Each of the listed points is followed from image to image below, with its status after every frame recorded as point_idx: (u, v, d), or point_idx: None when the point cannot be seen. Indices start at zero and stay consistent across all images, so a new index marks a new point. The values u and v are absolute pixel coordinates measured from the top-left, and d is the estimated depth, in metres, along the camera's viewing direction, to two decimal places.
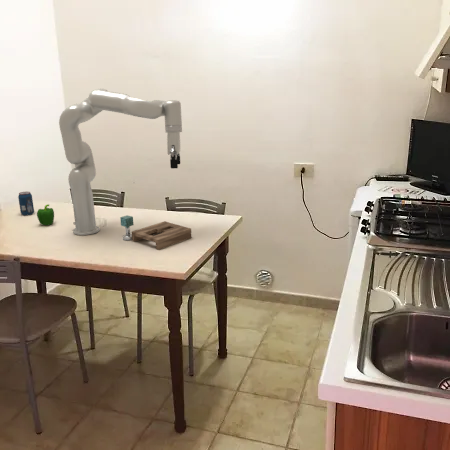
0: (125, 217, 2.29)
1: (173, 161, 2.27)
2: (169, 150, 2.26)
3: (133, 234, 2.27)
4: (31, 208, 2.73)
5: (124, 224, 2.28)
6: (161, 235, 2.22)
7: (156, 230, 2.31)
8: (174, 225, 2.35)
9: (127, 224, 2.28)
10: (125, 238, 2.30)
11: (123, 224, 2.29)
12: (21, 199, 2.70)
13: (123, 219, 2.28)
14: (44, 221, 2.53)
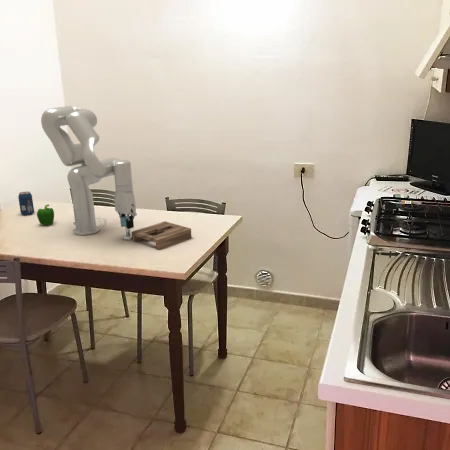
0: (125, 217, 2.29)
1: (131, 221, 2.28)
2: (129, 210, 2.24)
3: (133, 234, 2.27)
4: (31, 208, 2.73)
5: (124, 224, 2.28)
6: (161, 235, 2.22)
7: (156, 230, 2.31)
8: (174, 225, 2.35)
9: None
10: (125, 238, 2.30)
11: (123, 224, 2.29)
12: (21, 199, 2.70)
13: (123, 219, 2.28)
14: (44, 221, 2.53)
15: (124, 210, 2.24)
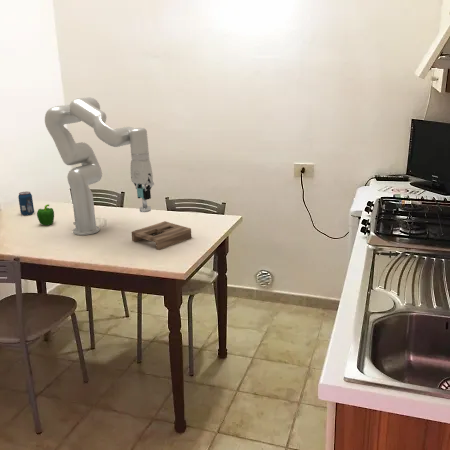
0: (142, 188, 2.21)
1: (148, 192, 2.20)
2: (146, 179, 2.16)
3: (133, 234, 2.27)
4: (31, 208, 2.73)
5: (141, 195, 2.21)
6: (161, 235, 2.22)
7: (156, 230, 2.31)
8: (174, 225, 2.35)
9: None
10: (142, 210, 2.22)
11: (140, 195, 2.21)
12: (21, 199, 2.70)
13: (140, 190, 2.20)
14: (44, 221, 2.53)
15: (141, 180, 2.17)
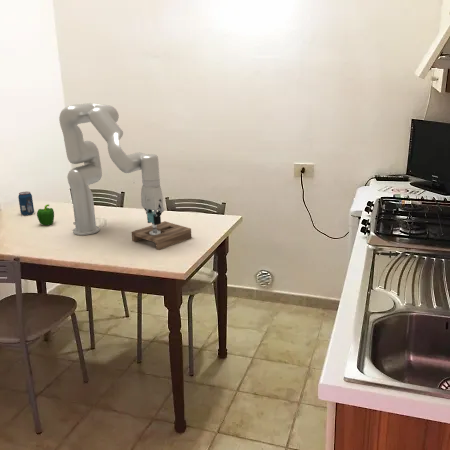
0: (152, 213, 2.23)
1: (158, 217, 2.22)
2: (157, 205, 2.18)
3: (133, 234, 2.27)
4: (31, 208, 2.73)
5: (151, 220, 2.22)
6: (161, 235, 2.22)
7: None
8: (174, 225, 2.35)
9: None
10: (152, 234, 2.24)
11: (150, 220, 2.23)
12: (21, 199, 2.70)
13: (150, 215, 2.22)
14: (44, 221, 2.53)
15: (151, 206, 2.19)
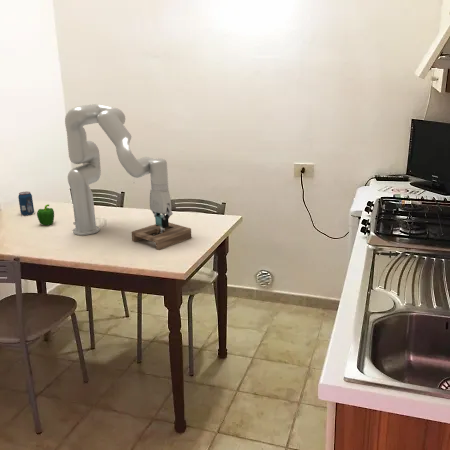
0: (160, 216, 2.27)
1: (166, 220, 2.26)
2: (165, 209, 2.22)
3: (133, 234, 2.27)
4: (31, 208, 2.73)
5: (159, 223, 2.27)
6: (161, 235, 2.22)
7: (156, 230, 2.31)
8: (174, 225, 2.35)
9: None
10: None
11: (158, 223, 2.27)
12: (21, 199, 2.70)
13: (158, 218, 2.26)
14: (44, 221, 2.53)
15: (160, 209, 2.23)
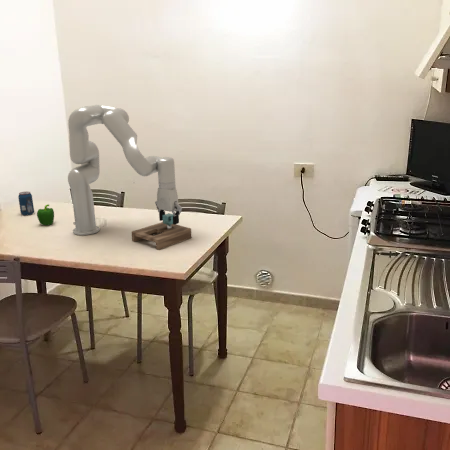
0: (167, 215, 2.30)
1: (177, 217, 2.27)
2: (173, 207, 2.25)
3: (133, 234, 2.27)
4: (31, 208, 2.73)
5: (166, 222, 2.30)
6: (161, 235, 2.22)
7: (156, 230, 2.31)
8: (174, 225, 2.35)
9: (169, 222, 2.29)
10: None
11: (165, 222, 2.30)
12: (21, 199, 2.70)
13: (165, 217, 2.29)
14: (44, 221, 2.53)
15: (167, 207, 2.26)
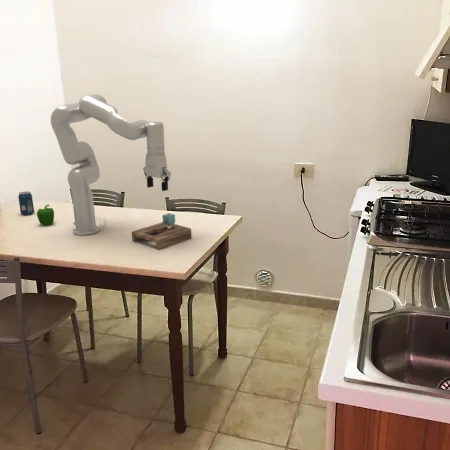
0: (167, 215, 2.30)
1: (166, 183, 2.21)
2: (161, 173, 2.19)
3: (133, 234, 2.27)
4: (31, 208, 2.73)
5: (166, 222, 2.30)
6: (161, 235, 2.22)
7: (156, 230, 2.31)
8: (174, 225, 2.35)
9: (169, 222, 2.29)
10: None
11: (165, 222, 2.30)
12: (21, 199, 2.70)
13: (165, 217, 2.29)
14: (44, 221, 2.53)
15: (156, 173, 2.20)
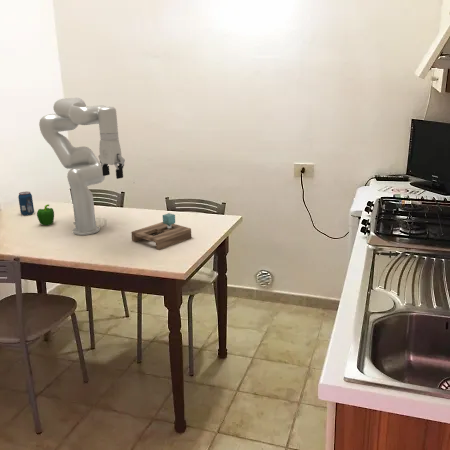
0: (167, 215, 2.30)
1: (120, 170, 2.14)
2: (115, 159, 2.12)
3: (133, 234, 2.27)
4: (31, 208, 2.73)
5: (166, 222, 2.30)
6: (161, 235, 2.22)
7: (156, 230, 2.31)
8: (174, 225, 2.35)
9: (169, 222, 2.29)
10: None
11: (165, 222, 2.30)
12: (21, 199, 2.70)
13: (165, 217, 2.29)
14: (44, 221, 2.53)
15: (109, 160, 2.12)
